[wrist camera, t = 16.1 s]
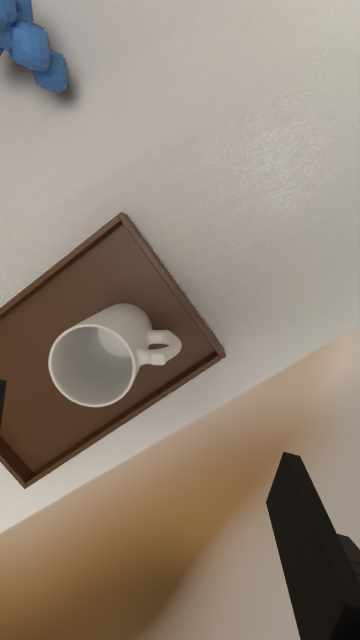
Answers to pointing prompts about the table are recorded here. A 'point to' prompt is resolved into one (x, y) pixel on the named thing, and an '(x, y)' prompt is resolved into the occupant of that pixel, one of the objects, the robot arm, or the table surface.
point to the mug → (107, 354)
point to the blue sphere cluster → (30, 45)
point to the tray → (65, 312)
